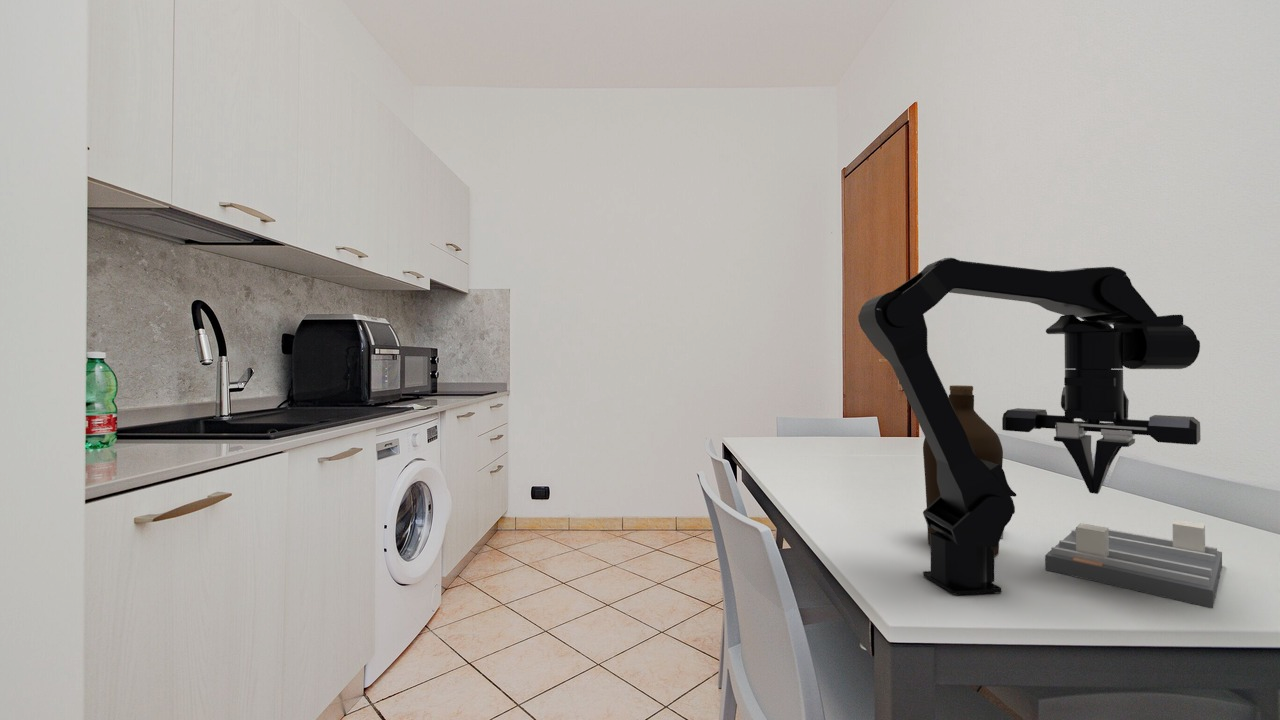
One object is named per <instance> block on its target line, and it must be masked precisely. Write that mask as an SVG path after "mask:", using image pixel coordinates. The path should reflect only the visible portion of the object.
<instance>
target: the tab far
mask: <svg viewBox="0 0 1280 720" xmlns="http://www.w3.org/2000/svg"><path fill="white" fill-rule="evenodd" d="M1172 540H1173V547H1174V548H1179V549H1185V550H1190V551H1196V552H1202V553H1205V546H1206V524H1205V523H1200V522H1191V521H1185V520H1178V519H1174V521H1173V522H1172Z"/></svg>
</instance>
